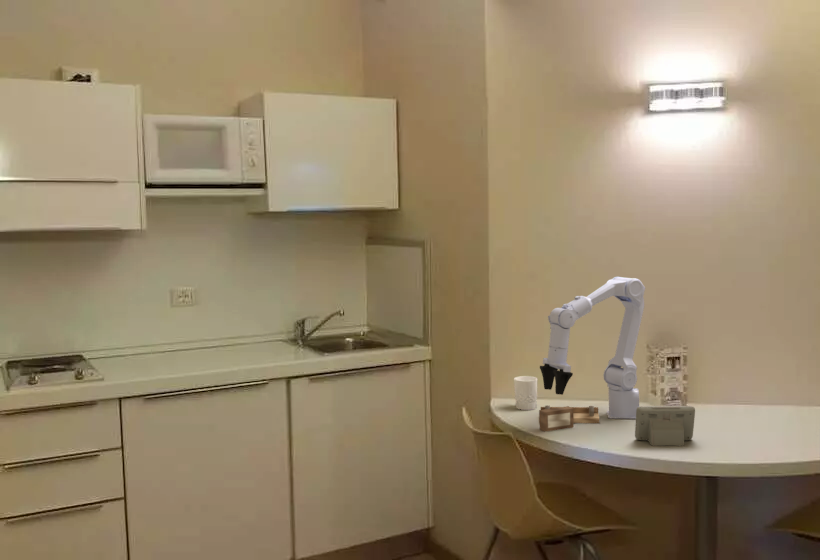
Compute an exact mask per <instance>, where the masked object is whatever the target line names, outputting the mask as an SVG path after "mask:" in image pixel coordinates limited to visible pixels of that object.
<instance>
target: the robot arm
mask: <svg viewBox="0 0 820 560" xmlns="http://www.w3.org/2000/svg"><path fill="white" fill-rule="evenodd" d="M645 291H646V286H645V285H644V284H643V282H642V281H641V279H639V278H635V277H632V278H631V277H622V276H614V277H613V278H610V279H608V280H607V281H606V283H604V284H603V285H601V286H600V287H598V288H597V289H596V290H594V291H593V292H591V293H590V294H588V295H587V296H584V295H576V296H574V299H573V300H571V301H569V302H567V303H564V304H562V306H561V307H555V308H553V309H552V310H551V311H550V314H549V315H548V316H547V318H548V319H547V320H548V323H549V324H550V325H549V326H550V329H549V330H550V334H549V342H548V344H549V345H548V352H547V353H548V354H547V357H544V358H542V364H543V365H539V369H540V372H541V376H542V379H543V388H544V390H550V391H551V390H552V389H553V385H554V380H555V389H554V390H555V394H556V395H561V396H563V395H564V392H565V390H566V387H567V386H568V385H567V384H568V382H569V381H570V380H571V377H573V376H574V375H573V372H572V371H571V370H572V369H571V368H572V366H571V365H570V364H568V362H567V360H568V359H567V358H568V352H569V344H570V343H569V342H570V335H571V328H573V327H574V326H575V324H576V321H578V320H579V319H580V318H582V317H584V316H586V315H587V314H590V313H591V312H592V309H593V306H595V305H597V304H599V303H601V302H603V301H605V300H607V299H609V298H610V297H614V298H616V299H617V300H619V301H620V302H621V304H622V305H623V308H625V309H624V314H623V318H622V323H621V327H620V332H619V336H618V341H617V345H616V350H615V354H614V356H613V357H612V358H611V359H610V360H609V361H608V364H607V366H606V368H605V370H604V371H603V375H602V376H603V380H604V381H605V383H606V384H607V388H608V410H606V414H607V417H608V419H625V420H626V419H627V420H630V419H634V420H636V410H637V408H638V407H641V406H640V391H639V388H638V387H637V388H635V386H636V385H637V380H638V375H637V370H638V367H637V364H636V363H635V362H634V355H635V350H636V345H637V341H638V336H639V332H640V326H641V323H642V319H643V314H644V309H645V298H644V295H645Z"/></svg>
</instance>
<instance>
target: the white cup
mask: <svg viewBox="0 0 820 560" xmlns="http://www.w3.org/2000/svg"><path fill="white" fill-rule="evenodd" d="M513 386H514V387H513V388H514V399H515V407H516V409H517V408H518V409H517V410H520V409H521V411H533V410H536V409H537V406H538V404H537V399H538V377H536V376H532V375H521V376H519V375H518V376H515V377H514V378H513ZM535 408H536V409H535Z"/></svg>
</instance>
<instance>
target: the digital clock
mask: <svg viewBox="0 0 820 560" xmlns="http://www.w3.org/2000/svg"><path fill="white" fill-rule="evenodd" d="M695 417H696V408H695V407H694V406H691V405H643V406H640V407H638V408H637V410H636V419H635V425H634V427H635V428H634V437H635V439H636V440H637V441H648V440H649V441H648V442H650V443H651V444H650V443H649V444H650V446H651V445H684V446H685V441H690V440H692V439H693V437H694V426H695Z"/></svg>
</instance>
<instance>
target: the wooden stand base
mask: <svg viewBox="0 0 820 560" xmlns="http://www.w3.org/2000/svg"><path fill="white" fill-rule="evenodd" d="M559 407H560V406H550V405H544V406H540V410H544V409H552V408H559ZM570 407H571V408H573V418H574V424H600V415H599V407H597V406H596V407H595V406H594V405H589V406H584V407H583V406H570Z"/></svg>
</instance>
